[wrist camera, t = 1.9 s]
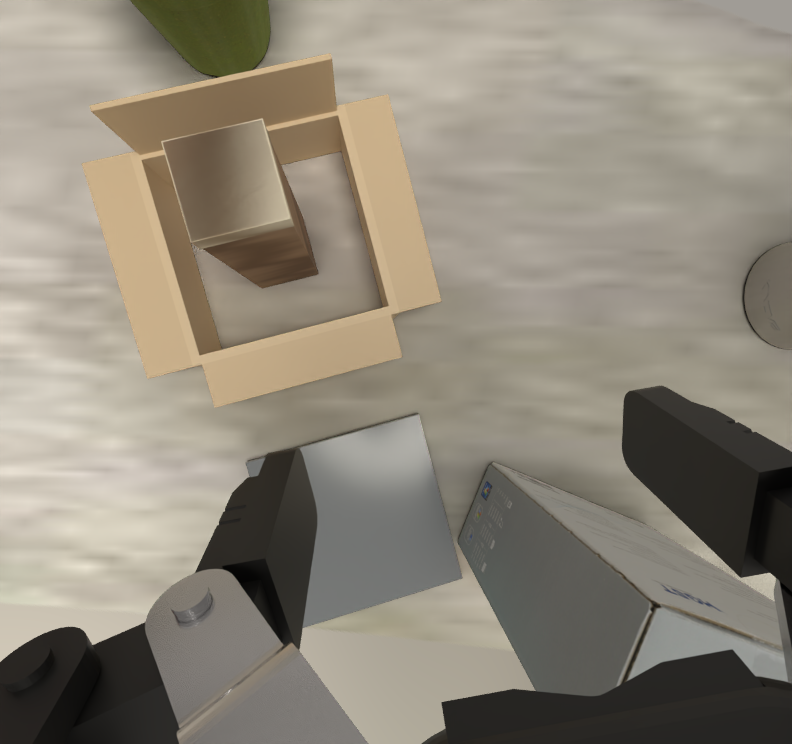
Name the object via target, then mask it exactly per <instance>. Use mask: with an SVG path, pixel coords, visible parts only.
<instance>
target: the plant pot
mask: <svg viewBox="0 0 792 744" xmlns="http://www.w3.org/2000/svg"><path fill="white" fill-rule="evenodd" d="M130 1H131V2H132V3H133V4H134V5H135V6H136V7H137V8H138V10H139V11H140V12H141V13H142V14H143V15H144V16H145V17H146V18H147V19H148V20H149V21H150V22H151V24H152V25H153V26H154V27H155V28H156V29H157V30H158V31H159V32H160V33H161V34H162V35H163V36H164V37H165V38H166V40H167V41H168V42H169V43H170V44H171V45H172V46H173V47H174V48H175V49H176V50H177V51H178V53H179V54H180V55H181V56H182V57H183V58H184V59H185V60H186V61H187V62H188V63H189V64H190V65H191V66H192V67H194V68H195V69H197V70H198V71H200V72H202V73H204V74H210V75H214V76H219V77H223V76H228V75H232V74H237V73H242V72H246V71H250V70H252V69H253V68H254V67H255V66H256V65H257V64H258V63H259V62H260V61H261V60H262V58H263V57H264V55H265V53H266V51H267V47H268V43H269V38H270V17H269V7H268V0H130Z"/></svg>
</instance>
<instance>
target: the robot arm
mask: <svg viewBox="0 0 792 744" xmlns="http://www.w3.org/2000/svg"><path fill="white" fill-rule="evenodd" d="M744 300H745V309H746V313H747V316H748V319H749V321H750V323H751V325H752V327H753V328H754V330H755V331H756V332H757V333H758V335H759V336H760V337H761V338H762V339H764V340H765V341H767V342H768V343H769V344H771V345H774V346H776V347H778V348H783V349H789V350H792V242H789V243H785V244H781V245H778V246H776V247H774V248H772V249H770V250H769V251H767V252H766V253H765V254H764V255H762V256H761V257H760V258H759V260H758V261H757V262H756V263H755V265H754V266H753V268H752V270H751V272H750V274H749V276H748V279H747V283H746V286H745V296H744ZM622 452H623V456H624V460H625V462H626V464H627V466H628V468H629V470H630V471H631V472H632V473H633V474H634V475H635V476H636V477H637V478H638V479H639V480H640V481H641V482H642V483H643V484H644V485H645V486H646V487H647V488H648V489H649V490H650V491H651V492H652V493H653V494H655V495H656V496H657V497H658V498H659V499H660V500H661V501H662V502H663V503H664V504H665V505H666V506H667V507H668V508H669V509H670V510H671V511H672V512H673V513H674V514H675V515H676V516H677V517H678V518H679V519H680V520H681V521H683V522H684V523H685V524H686V525H687V526H688V527H689V528H690V529H691V530H692V531H693V532H694V533H695V534H696V535H697V536H698V537H699V538H700V539H701V540H702V541H703V542H704V543H705V544H706V545H707V546H708V547H709V548H711V549H712V550H713V551H714V552H715V553H716V554H717V555H718V556H719V557H720V558H721V559H722V560H723V561H724V562H725V563H726V564H727V565H728V566H729V567H730V568H731V569H732V570H733V571H734V572H735V573H736V574H737V575H739V576H740V577H741V578H742V577H748V576H753V575H759V574H764V573H771V574H772V575H773V576H775V577H776V583H775V588H774V598H775V604H776V610H777V616H778V623H779V629H780V635H781V641H782V647H783V653H784V659H785V665H786V671H787V678H788V682H786V681H782V680H777V679H771V678H766V677H761V676H755V675H754V674H753V673H752V672H751V670H750V669H749V668H748V667H747V666H746V664H745V663H744V662H743V661H742V660H741V659H740V657H739V656H738V655H737V654H736V653H735V651H734V650H733V649H730V650H725V651H720V652H714V653H709V654H703V655H698V656H692V657H687V658H681V659H676V660H670V661H665V662H661V663H659V664H657V665H655V666H653V667H652V668H650V669H648V670H646V671H644V672H643V673H641V674H639V675H637V676H635V677H634V678H632V679H630V680H628V681H626V682H624V683H623V684H621V685H619V686H617V687H615V688H614V689H612V690H610V691H608V692H606V693H604V694H602V695H598V696H582V695H571V694H560V693H550V692H539V691H528V690H517V689H512V690H506V691H500V692H495V693H490V694H484V695H479V696H473V697H468V698H463V699H457V700H451V701H446V702H442V708H443V714H444V721H445V726H446V729H444V730H443V731H441V732H439V733H437V734H435V735H433V736H432V737H430V738H429V739H427V740H426V741H425V742H423V743H422V744H792V452H791V451H789V450H787V449H785V448H784V447H782V446H780V445H778V444H776V443H775V442H773V441H771V440H769V439H767V438H766V437H764V436H762V435H760V434H758V433H757V432H752V431H751V429H750V428H748V427H746V426H744V425H742V424H741V423H739V422H738V423H735V420H733V419H732V418H730V417H728V416H726V415H724V414H723V413H721V412H719V411H717V410H715V409H713V408H709V407H706V406H703V405H700V404H697V403H693V402H691V401H689V400H687V399H686V398H684V397H682V396H680V395H679V394H677V393H675V392H673V391H672V390H670V389H668V388H666V387H664V386H656V387H650V388H644V389H639V390H633V391H629V392H628V393H627V394H626V395H625V398H624V409H623V436H622ZM316 532H317V508H316V502H315V498H314V495H313V491H312V487H311V484H310V480H309V476H308V472H307V469H306V465H305V461H304V458H303V455H302V452H301V450H300V449H299V448H296V449H290V450H284V451H278V452H273V453H268V454H267V455H266V457H265V460H264V462H263V465H262V467H261V470H260V472H259V475H258V476H254V477H248V478H247V479H246V480H245V481H244V482H243V483H242V484H241V485H240V486H239V487H238V488H237V489H236V490H235V491H234V492H233V493H232V495H231V497H230V499H229V501H228V503H227V506H226V508H225V512H223V514H222V516H221V518H220V521H219V525H218V526H217V527H216V529H215V531H214V533H213V536H212V538H211V540H210V542H209V544H208V546H207V548H206V551H205V553H204V555H203V557H202V559H201V561H200V563H199V565H198V568H197V570H196V572H195V573H194V574H192V575H190V576H187V577H186V578H184V579H182V580H180V581H179V582H177V583H176V584H174V585H173V586H171V587H170V588H169V589H168V590H167V591H165V592H164V593H163V594H162V595H161V596H160V597H159V599H158V600H157V601H156V602H155V604H154V605H153V606H152V608H151V610H150V612H149V614H148V616H147V619H146V622H145V623H143V624H141V625H139V626H136V627H134V628H131V629H129V630H127V631H125V632H122V633H120V634H118V635H115V636H113V637H111V638H109V639H106V640H104V641H102V642H99V643H97V644H95V645H92V644H91V642H90V640H89V639H88V637H87V636H86V634H85V632H84V631H83V630H81V629H80V628H76V627H64V628H59V629H55V630H52V631H49V632H47V633H44V634H42V635H40V636H38V637H36V638H34V639H32V640H31V641H29V642H27V643H25V644H24V645H22V646H21V647H19V648H18V649H16V650H15V651H13V652H12V653H11V654H9V655H8V656H7V657H6V658H5V659H3V660H2V661H1V662H0V744H368V743H367V741H366V740H365V739H364V737H363V736H362V734H361V733H360V732H359V730H358V729H357V728H356V727H355V725H354V724H353V722H352V721H351V720H350V719H349V717H348V716H347V714H346V713H345V712H344V710H343V709H342V708H341V706H340V705H339V704H338V702H337V701H336V700H335V698H334V697H333V696H332V694H331V693H330V692H329V690H328V689H327V687H325V685H324V684H323V682H322V681H321V679H320V678H319V677H318V675H317V674H316V673H315V671H314V670H313V669H312V667H311V666H310V665H309V663H308V662H307V661H306V659H305V658H304V657H303V655H302V654H301V653H300V651H299V648H300V641H301V635H302V628H303V621H304V614H305V608H306V601H307V594H308V587H309V580H310V573H311V567H312V560H313V553H314V546H315V539H316Z"/></svg>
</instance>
